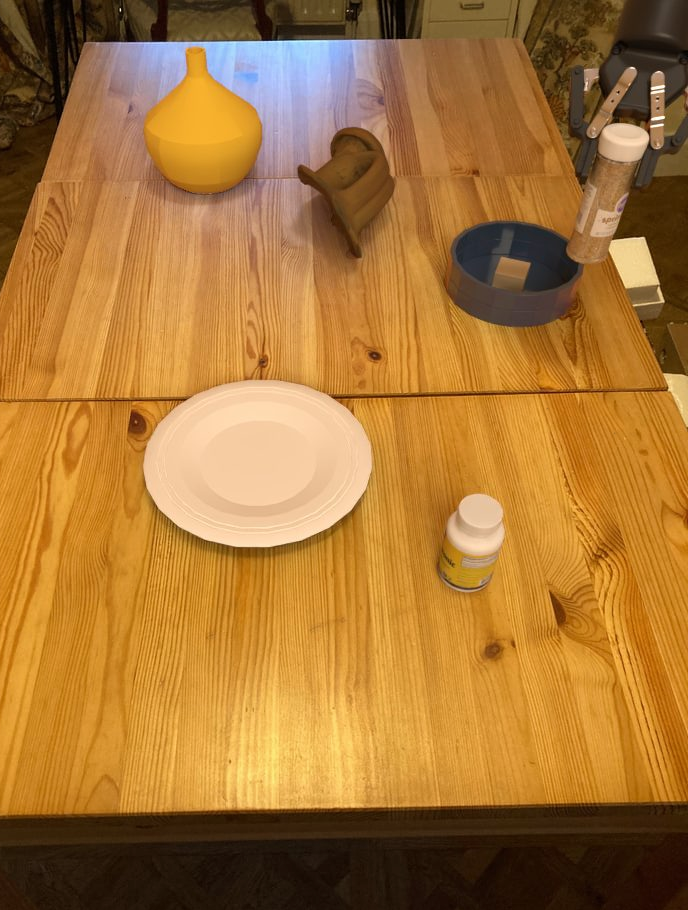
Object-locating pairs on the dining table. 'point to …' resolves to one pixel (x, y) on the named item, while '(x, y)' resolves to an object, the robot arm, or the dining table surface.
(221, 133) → the vase
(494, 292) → the bowl
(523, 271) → the block
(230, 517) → the plate
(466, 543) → the supplement bottle
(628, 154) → the sprinkles bottle
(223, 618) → the dining table surface
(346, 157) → the brown looped sculpture
